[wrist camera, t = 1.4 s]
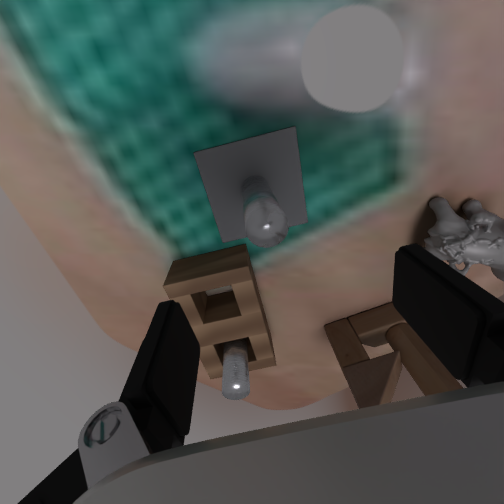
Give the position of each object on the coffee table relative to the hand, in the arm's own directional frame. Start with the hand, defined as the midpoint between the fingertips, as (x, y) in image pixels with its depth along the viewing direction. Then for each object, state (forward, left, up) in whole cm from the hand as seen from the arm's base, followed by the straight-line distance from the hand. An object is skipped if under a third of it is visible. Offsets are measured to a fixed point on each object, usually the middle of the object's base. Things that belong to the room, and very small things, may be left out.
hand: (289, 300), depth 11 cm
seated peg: (+18, -7, -18) cm, 26 cm away
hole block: (+14, -7, -18) cm, 24 cm away
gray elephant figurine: (+10, +23, -18) cm, 31 cm away
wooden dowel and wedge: (+23, +11, -18) cm, 31 cm away
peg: (0, 0, -18) cm, 18 cm away
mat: (0, 0, -18) cm, 18 cm away
